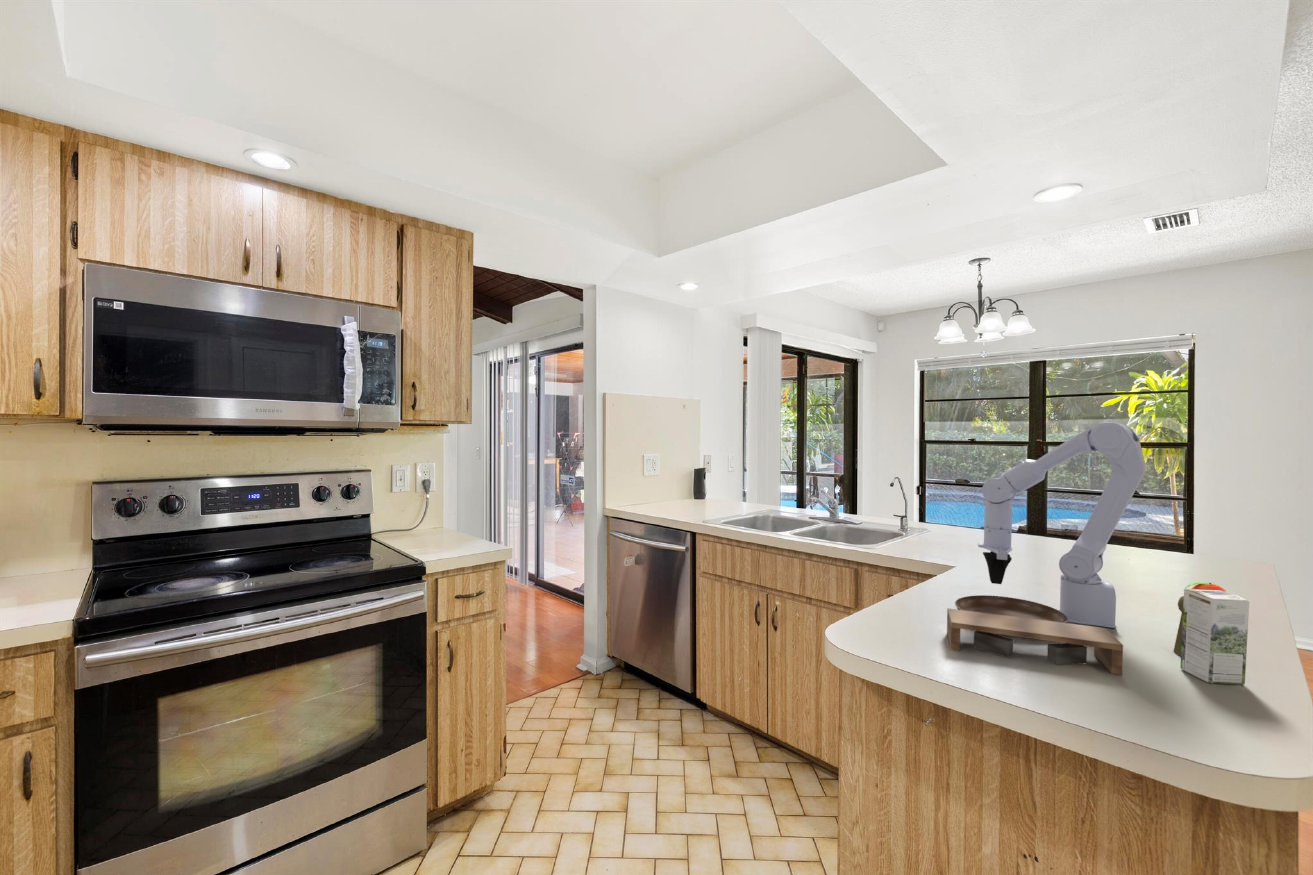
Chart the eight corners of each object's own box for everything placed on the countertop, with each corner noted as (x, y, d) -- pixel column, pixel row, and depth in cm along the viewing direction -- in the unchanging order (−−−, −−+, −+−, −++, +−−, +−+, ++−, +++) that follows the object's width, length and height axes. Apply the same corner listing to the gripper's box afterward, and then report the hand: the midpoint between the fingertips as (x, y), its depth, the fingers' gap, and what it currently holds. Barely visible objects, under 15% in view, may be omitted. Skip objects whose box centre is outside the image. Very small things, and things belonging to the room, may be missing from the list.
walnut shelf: (1103, 655, 104) (1104, 627, 104) (1122, 675, 95) (1122, 644, 95) (946, 633, 114) (947, 608, 114) (951, 649, 106) (951, 622, 106)
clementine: (1186, 613, 129) (1187, 583, 129) (1178, 605, 135) (1179, 576, 135) (1235, 620, 125) (1236, 588, 125) (1224, 611, 131) (1225, 581, 131)
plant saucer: (968, 635, 114) (968, 618, 114) (945, 604, 134) (945, 591, 134) (1086, 646, 109) (1087, 629, 108) (1043, 613, 128) (1044, 599, 128)
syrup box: (1215, 671, 98) (1217, 588, 97) (1247, 686, 92) (1250, 598, 92) (1179, 669, 98) (1182, 587, 98) (1209, 684, 92) (1212, 597, 92)
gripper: (974, 521, 144) (973, 573, 144) (983, 531, 131) (981, 588, 131) (1006, 524, 141) (1005, 577, 141) (1018, 533, 128) (1016, 592, 128)
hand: (996, 583), depth 136 cm, fingers closed
